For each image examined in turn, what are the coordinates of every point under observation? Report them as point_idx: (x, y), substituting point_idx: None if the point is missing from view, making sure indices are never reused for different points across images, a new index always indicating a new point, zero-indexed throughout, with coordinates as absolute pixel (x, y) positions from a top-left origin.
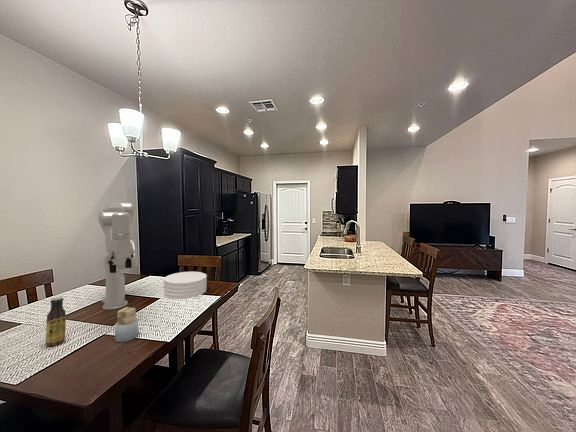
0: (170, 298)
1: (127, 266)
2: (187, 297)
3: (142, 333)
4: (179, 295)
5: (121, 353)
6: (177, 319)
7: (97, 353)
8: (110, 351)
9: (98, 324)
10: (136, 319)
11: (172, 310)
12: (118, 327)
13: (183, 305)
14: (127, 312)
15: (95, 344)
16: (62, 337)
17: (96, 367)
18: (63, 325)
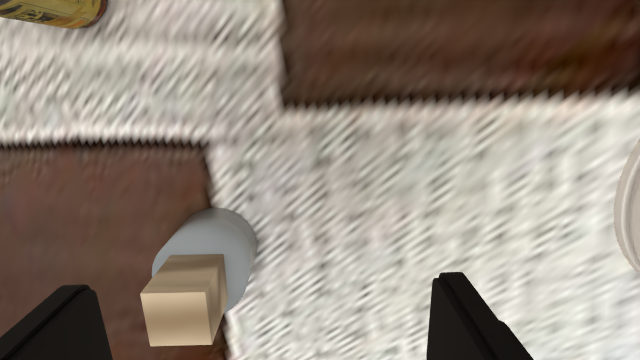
0: (629, 166)
1: (438, 333)
2: (633, 254)
3: (255, 280)
4: (636, 229)
5: (127, 306)
6: (389, 330)
7: (96, 234)
8: (122, 265)
9: (274, 24)
10: (236, 297)
11: (475, 262)
12: (153, 276)
13: (537, 276)
14: (153, 344)
15: (135, 176)
16: (69, 26)
17: (45, 293)
18: (28, 18)
